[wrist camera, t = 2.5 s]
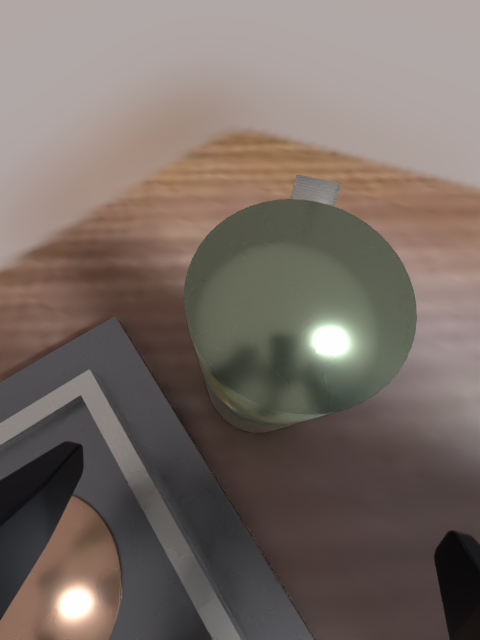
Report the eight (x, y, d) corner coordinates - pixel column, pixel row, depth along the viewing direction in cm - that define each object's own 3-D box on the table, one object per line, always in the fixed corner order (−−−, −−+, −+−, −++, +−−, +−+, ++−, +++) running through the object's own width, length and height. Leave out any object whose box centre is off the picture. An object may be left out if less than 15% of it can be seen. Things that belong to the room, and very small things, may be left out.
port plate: (-128, 1082, 12) (-188, 1190, 10) (-247, 532, 17) (-299, 542, 15) (320, 647, 16) (331, 671, 15) (118, 320, 21) (109, 309, 20)
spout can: (299, 443, 19) (413, 440, 8) (196, 420, 20) (153, 382, 8) (317, 318, 22) (422, 174, 10) (226, 299, 22) (228, 135, 11)
